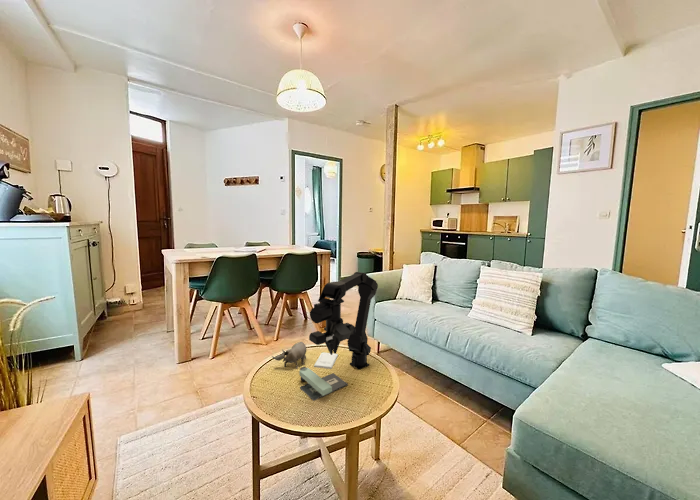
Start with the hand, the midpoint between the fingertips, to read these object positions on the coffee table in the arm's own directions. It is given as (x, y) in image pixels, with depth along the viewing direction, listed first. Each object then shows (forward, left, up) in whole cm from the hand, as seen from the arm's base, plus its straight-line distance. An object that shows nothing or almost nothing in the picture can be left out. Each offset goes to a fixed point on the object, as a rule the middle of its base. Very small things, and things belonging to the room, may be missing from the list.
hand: (333, 353), depth 114 cm
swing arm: (+8, -2, -10) cm, 13 cm away
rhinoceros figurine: (+5, -24, -13) cm, 27 cm away
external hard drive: (-9, -17, -14) cm, 24 cm away
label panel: (+3, -4, -13) cm, 14 cm away
